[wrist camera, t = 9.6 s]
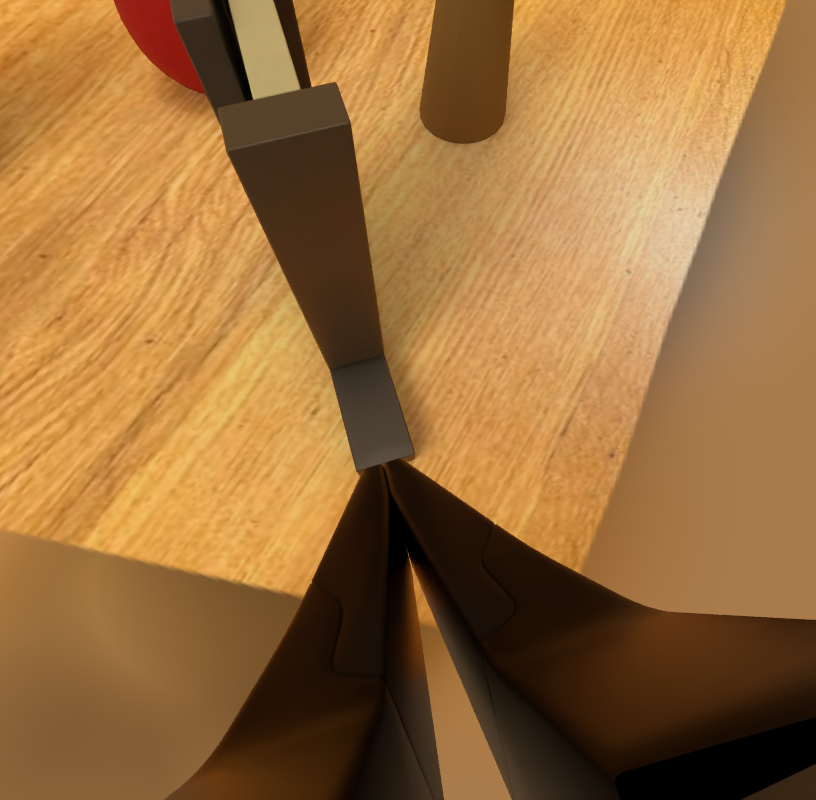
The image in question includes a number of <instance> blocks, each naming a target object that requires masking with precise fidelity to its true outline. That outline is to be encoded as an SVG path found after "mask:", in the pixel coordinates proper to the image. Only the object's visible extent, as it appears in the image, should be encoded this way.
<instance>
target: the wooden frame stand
mask: <svg viewBox="0 0 816 800" xmlns="http://www.w3.org/2000/svg"><path fill="white" fill-rule="evenodd" d="M273 1H274V4H275V7H276V10H277V13H278V17H279V20H280V23H281V26H282V30H283V33H284V36H285V39H286V42H287V46H288V49H289V52H290V55H291V59H292V62H293V65H294V68H295V71H296V75H297V78H298V81H299V84H300V88H301V89H306V88H310V87H312V86H311V82H310V77H309V73H308V68H307V64H306V59H305V55H304V50H303V46H302V41H301V37H300V32H299V27H298V23H297V18H296V14H295V9H294V5H293V0H273ZM170 5H171V11H172V16H173V22H174V25H175V27H176V29H177V32H178V34H179V36H180V38H181V40H182V42H183V45H184V47H185V49H186V51H187V53H188V56H189V58H190V60H191V62H192V64H193V67H194V69H195V71H196V73H197V75H198V77H199V80H200V82H201V84H202V86H203V88H204V91H205V93H206V95H207V97H208V99H209V102H210V104H211V106H212V108H213V110H214V112H215V115H216V117H217V119H218V121H219V123H220V119H219V115H218V108H219V107H224V106H228V105H233V104H237V103H242V102H246V101H251V100H253V97H252V93H251V89H250V85H249V81H248V77H247V73H246V69H245V65H244V61H243V57H242V54H241V50H240V46H239V42H238V38H237V34H236V30H235V26H234V22H233V18H232V14H231V11H230V7H229V3H228V0H170ZM220 126H221V124H220ZM330 372H331V376H332V380H333V384H334V387H335V391H336V395H337V399H338V403H339V406H340V410H341V414H342V418H343V422H344V426H345V429H346V433H347V437H348V441H349V445H350V448H351V452H352V456H353V460H354V464H355V468H356V471H357V472H358V474H359V475H361V474H362V472H363V470H364V469H365V468H368V467H371V466H375V465H378V464H381V465H384V463H385V462H388V461H391V460H394V459H398V458H401V459H403V460H405V461H410V460H413V459H415V452H414V448H413V445H412V442H411V439H410V435H409V432H408V429H407V426H406V423H405V419H404V416H403V413H402V410H401V407H400V403H399V400H398V397H397V394H396V390H395V387H394V384H393V381H392V378H391V374H390V371H389V368H388V365H387V362H386V358H385V355H381V356H377V357H373V358H370V359H366V360H363V361H359V362H355V363H352V364H348V365H345V366H341V367H337V368H334V369H330ZM383 468H384V467H383Z"/></svg>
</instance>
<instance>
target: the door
mask: <svg viewBox="0 0 816 800" xmlns="http://www.w3.org/2000/svg"><path fill="white" fill-rule="evenodd" d="M228 3H229V7H230V11H231V14H232V18H233V22H234V26H235V30H236V34H237V38H238V42H239V46H240V50H241V54H242V57H243V61H244V65H245V69H246V73H247V77H248V81H249V85H250V89H251V93H252V97H253V100H251V101H246V102H242V103H237V104H233V105H228V106H224V107H219V108H218V115H219V119H220V124H221V129H222V133H223V138H224V143H225V147H226V152H227V154H228V156H229V158H230V160H231V162H232V165H233V167H234V169H235V171H236V173H237V175H238V177H239V179H240V181H241V184H242V186H243V188H244V190H245V192H246V194H247V196H248V198H249V201H250V203H251V205H252V207H253V209H254V211H255V213H256V215H257V217H258V220H259V222H260V224H261V226H262V228H263V230H264V232H265V234H266V237H267V239H268V241H269V243H270V245H271V247H272V249H273V251H274V253H275V256H276V258H277V260H278V262H279V264H280V266H281V268H282V270H283V272H284V275H285V277H286V279H287V281H288V283H289V285H290V287H291V289H292V292H293V294H294V296H295V298H296V300H297V302H298V304H299V306H300V308H301V311H302V313H303V315H304V317H305V319H306V321H307V323H308V325H309V328H310V330H311V332H312V334H313V336H314V338H315V340H316V342H317V344H318V347H319V349H320V351H321V353H322V355H323V357H324V359H325V361H326V363H327V366H328V368H329V369H334V368H337V367H341V366H345V365H348V364H352V363H355V362H359V361H363V360H366V359H370V358H373V357H377V356H381V355H384V347H383V340H382V333H381V326H380V319H379V312H378V306H377V299H376V292H375V285H374V278H373V271H372V265H371V258H370V251H369V244H368V237H367V231H366V224H365V217H364V210H363V203H362V196H361V190H360V183H359V176H358V169H357V162H356V155H355V149H354V142H353V135H352V128H351V122H350V120H349V117H348V114H347V111H346V108H345V105H344V103H343V100H342V97H341V94H340V91H339V88H338V85H337V84H336V82H333V83H328V84H324V85H319V86H315V87H310V88H306V89H301V88H300V84H299V81H298V78H297V75H296V71H295V68H294V65H293V62H292V59H291V55H290V52H289V49H288V46H287V42H286V39H285V36H284V33H283V30H282V26H281V23H280V20H279V17H278V13H277V10H276V7H275V4H274V1H273V0H228Z"/></svg>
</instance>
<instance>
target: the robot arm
mask: <svg viewBox="0 0 816 800" xmlns="http://www.w3.org/2000/svg"><path fill="white" fill-rule="evenodd" d="M383 467H384V468H383ZM405 544H406V545H405ZM407 551H408V552H407ZM408 554H409V556H408ZM409 557H410V560H409ZM410 561H411V563H412V566H413V569H414V571H415V574H416V576H417V578H418V581H419V583H420V585H421V588H422V590H423V592H424V595H425V597H426V599H427V602H428V604H429V606H430V609H431V611H432V613H433V616H434V618H435V620H436V623H437V625H438V627H439V630H440V632H441V634H442V637H443V639H444V641H445V644H446V646H447V648H448V651H449V653H450V656H451V658H452V660H453V662H454V665H455V667H456V670H457V672H458V674H459V677H460V679H461V681H462V684H463V686H464V688H465V691H466V693H467V695H468V698H469V700H470V702H471V705H472V707H473V709H474V712H475V714H476V716H477V719H478V721H479V723H480V726H481V728H482V730H483V733H484V735H485V738H486V740H487V742H488V745H489V747H490V749H491V751H492V754H493V756H494V758H495V761H496V763H497V766H498V768H499V770H500V773H501V775H502V777H503V780H504V782H505V784H506V787H507V789H508V791H509V794H510V796H511V798H512V800H816V620H805V619H785V618H767V617H748V616H731V615H713V614H695V613H676V612H666V611H661V610H657V609H653V608H650V607H646V606H643V605H641V604H639V603H636V602H634V601H631V600H629V599H627V598H625V597H623V596H621V595H619V594H617V593H615V592H613V591H611V590H609V589H607V588H605V587H604V586H602V585H600V584H598V583H596V582H594V581H592V580H591V579H589V578H587V577H585V576H583V575H581V574H579V573H577V572H575V571H573V570H572V569H570V568H568V567H566V566H564V565H562V564H560V563H558V562H556V561H555V560H553V559H551V558H549V557H547V556H546V555H544V554H542V553H540V552H539V551H537V550H535V549H533V548H532V547H530V546H528V545H527V544H525V543H524V542H522V541H520V540H519V539H517V538H516V537H514V536H513V535H511V534H510V533H508V532H507V531H505V530H504V529H502V528H501V527H500V526H498V525H497V524H494V523H493V522H492V521H491V520H489V519H488V518H486V517H485V516H484V515H482V514H481V513H479V512H478V511H476V510H475V509H474V508H472V507H471V506H469V505H468V504H466V503H465V502H463V501H462V500H461V499H459V498H458V497H456V496H455V495H453V494H452V493H451V492H449V491H448V490H446V489H445V488H443V487H442V486H440V485H439V484H438V483H436V482H435V481H433V480H432V479H430V478H429V477H428V476H426V475H425V474H423V473H422V472H420V471H419V470H417V469H416V468H415V467H413V466H412V465H410V464H409V463H407V462H406V461H405V460H403V459H401V458H398V459H394V460H391V461H388V462H385V463H384V465H381V464H378V465H375V466H371V467H368V468H365V469H364V470H363V472H362V474H361V476H360V478H359V480H358V482H357V485H356V487H355V489H354V491H353V493H352V495H351V498H350V500H349V502H348V504H347V506H346V508H345V510H344V513H343V515H342V517H341V519H340V521H339V523H338V526H337V528H336V530H335V532H334V534H333V536H332V538H331V541H330V543H329V545H328V547H327V549H326V551H325V554H324V556H323V558H322V560H321V562H320V564H319V566H318V569H317V571H316V573H315V575H314V577H313V579H312V583H311V584H310V585H309V588H308V590H307V592H306V594H305V596H304V598H303V600H302V602H301V605H300V607H299V608H298V610H297V613H296V614H295V616H294V619H293V621H292V622H291V624H290V626H289V628H288V630H287V632H286V633H285V635H284V637H283V639H282V640H281V642H280V644H279V646H278V647H277V649H276V651H275V653H274V654H273V656H272V658H271V659H270V661H269V663H268V664H267V666H266V668H265V669H264V671H263V673H262V674H261V676H260V678H259V679H258V681H257V683H256V684H255V686H254V688H253V689H252V691H251V693H250V694H249V696H248V698H247V699H246V701H245V703H244V704H243V706H242V708H241V709H240V711H239V713H238V714H237V716H236V718H235V719H234V721H233V723H232V724H231V726H230V728H229V729H228V731H227V732H226V734H225V735H224V737H223V739H222V740H221V742H220V743H219V745H218V746H217V747H216V749H215V750H214V751H213V753H212V754H211V756H210V757H209V758H208V759H207V761H206V762H205V763H204V764H203V765H202V766H201V768H200V769H199V770H198V771H197V772H196V773H195V774H194V775H193V776H192V777H191V778H190V779H189V780H188V781H187V782H185V783H184V784H183V785H182V786H181V787H179V788H178V789H177V790H176V791H174V792H173V793H172V794H170V795H169V796H168V797H167V798H165V799H164V800H444V797H443V790H442V783H441V776H440V770H439V763H438V755H437V747H436V740H435V733H434V726H433V719H432V713H431V705H430V698H429V691H428V684H427V677H426V669H425V663H424V655H423V648H422V641H421V634H420V627H419V620H418V613H417V606H416V599H415V591H414V584H413V577H412V571H411V565H410Z"/></svg>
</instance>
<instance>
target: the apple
mask: <svg viewBox="0 0 816 800" xmlns="http://www.w3.org/2000/svg"><path fill="white" fill-rule="evenodd" d="M114 2H115V5H116V8H117V10H118V13H119V15H120V17H121V20H122V22H123V23H124V25H125V27H126V28H127V30H128V32H129V34H130V35H131V37H132V38H133V40H134V41H135V43H136V44H137V46H138V47H139V48H140V49H141V51H142V52H143V53H144V54H145V55H146V56H147V57H148V59H149V60H150V61H151V62H152V63H153V64H154V65H155V66H157V67H158V68H159V69H160V70H161V71H163V72H164V73H165V74H166V75H168V76H169V77H171V78H172V79H174V80H175V81H177V82H178V83H180V84H181V85H183V86H185V87H187V88H189V89H192V90H195V91H197V92H200V93H205V91H204V88H203V86H202V84H201V82H200V80H199V77H198V75H197V73H196V71H195V69H194V67H193V64H192V62H191V60H190V58H189V56H188V53H187V51H186V49H185V47H184V45H183V42H182V40H181V38H180V36H179V34H178V32H177V29H176V27H175V25H174V22H173V16H172V11H171V5H170V0H114Z"/></svg>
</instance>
